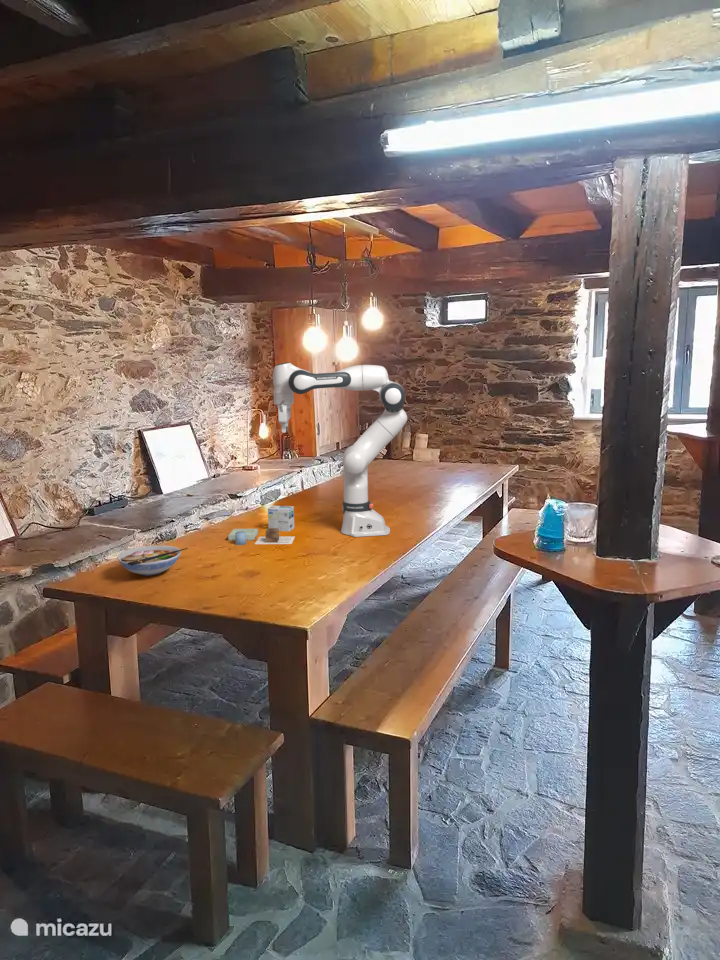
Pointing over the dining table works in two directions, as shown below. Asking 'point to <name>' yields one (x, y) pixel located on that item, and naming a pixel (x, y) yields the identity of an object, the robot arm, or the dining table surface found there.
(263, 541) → the letter
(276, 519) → the light bulb box
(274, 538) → the walnut block
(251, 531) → the tray
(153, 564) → the ramen bowl
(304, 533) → the dining table surface
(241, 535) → the blue cylinder
